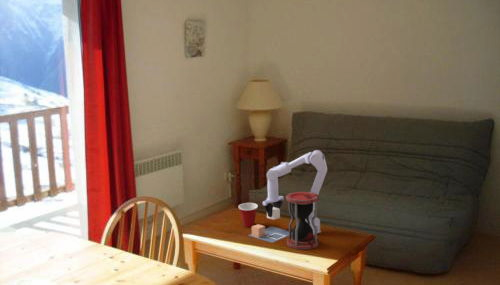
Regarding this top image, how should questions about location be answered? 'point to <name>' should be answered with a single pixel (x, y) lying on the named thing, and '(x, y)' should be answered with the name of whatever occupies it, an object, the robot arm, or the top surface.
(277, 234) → the mat
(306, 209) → the hourglass
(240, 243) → the top surface
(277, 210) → the offwhite block
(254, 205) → the plastic cup
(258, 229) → the terracotta block
